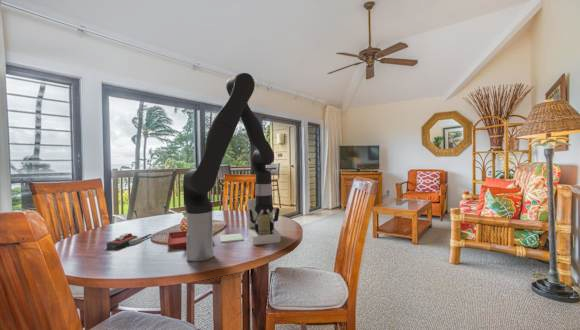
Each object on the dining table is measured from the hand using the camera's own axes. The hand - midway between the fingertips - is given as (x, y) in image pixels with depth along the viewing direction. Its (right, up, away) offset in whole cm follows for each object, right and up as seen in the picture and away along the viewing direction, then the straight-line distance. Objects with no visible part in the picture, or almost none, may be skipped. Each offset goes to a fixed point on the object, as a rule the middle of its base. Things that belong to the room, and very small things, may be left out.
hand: (264, 231), depth 122 cm
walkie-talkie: (-60, -6, 0) cm, 60 cm away
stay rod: (+2, 0, +9) cm, 9 cm away
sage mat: (-16, -4, +4) cm, 17 cm away
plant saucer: (-33, -5, 0) cm, 34 cm away
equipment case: (-1, -4, +2) cm, 5 cm away
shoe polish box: (0, -4, 0) cm, 4 cm away
